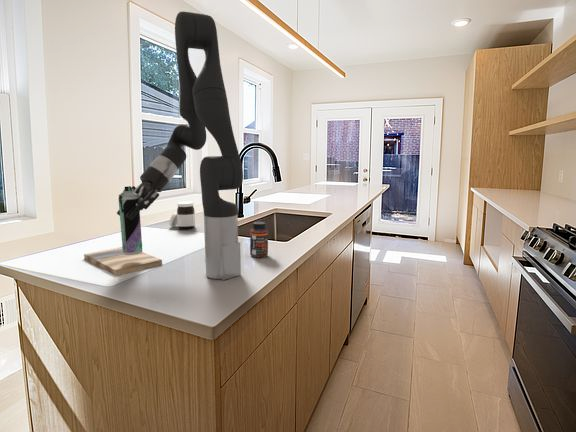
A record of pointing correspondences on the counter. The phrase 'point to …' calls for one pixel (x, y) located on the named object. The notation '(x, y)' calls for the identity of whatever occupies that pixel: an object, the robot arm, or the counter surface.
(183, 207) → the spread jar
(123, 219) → the spray can
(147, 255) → the plywood panel
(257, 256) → the supplement bottle
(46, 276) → the counter surface
